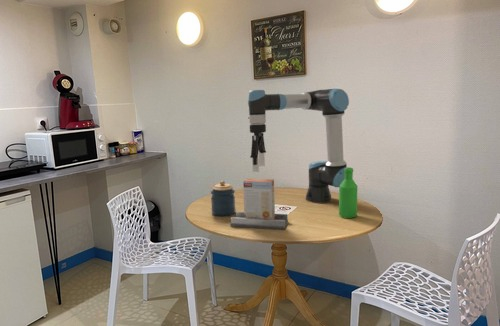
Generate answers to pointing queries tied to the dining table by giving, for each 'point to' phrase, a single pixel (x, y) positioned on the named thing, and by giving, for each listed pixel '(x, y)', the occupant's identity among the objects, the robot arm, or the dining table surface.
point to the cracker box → (259, 198)
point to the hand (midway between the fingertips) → (258, 168)
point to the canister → (223, 199)
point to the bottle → (348, 195)
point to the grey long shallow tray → (260, 222)
